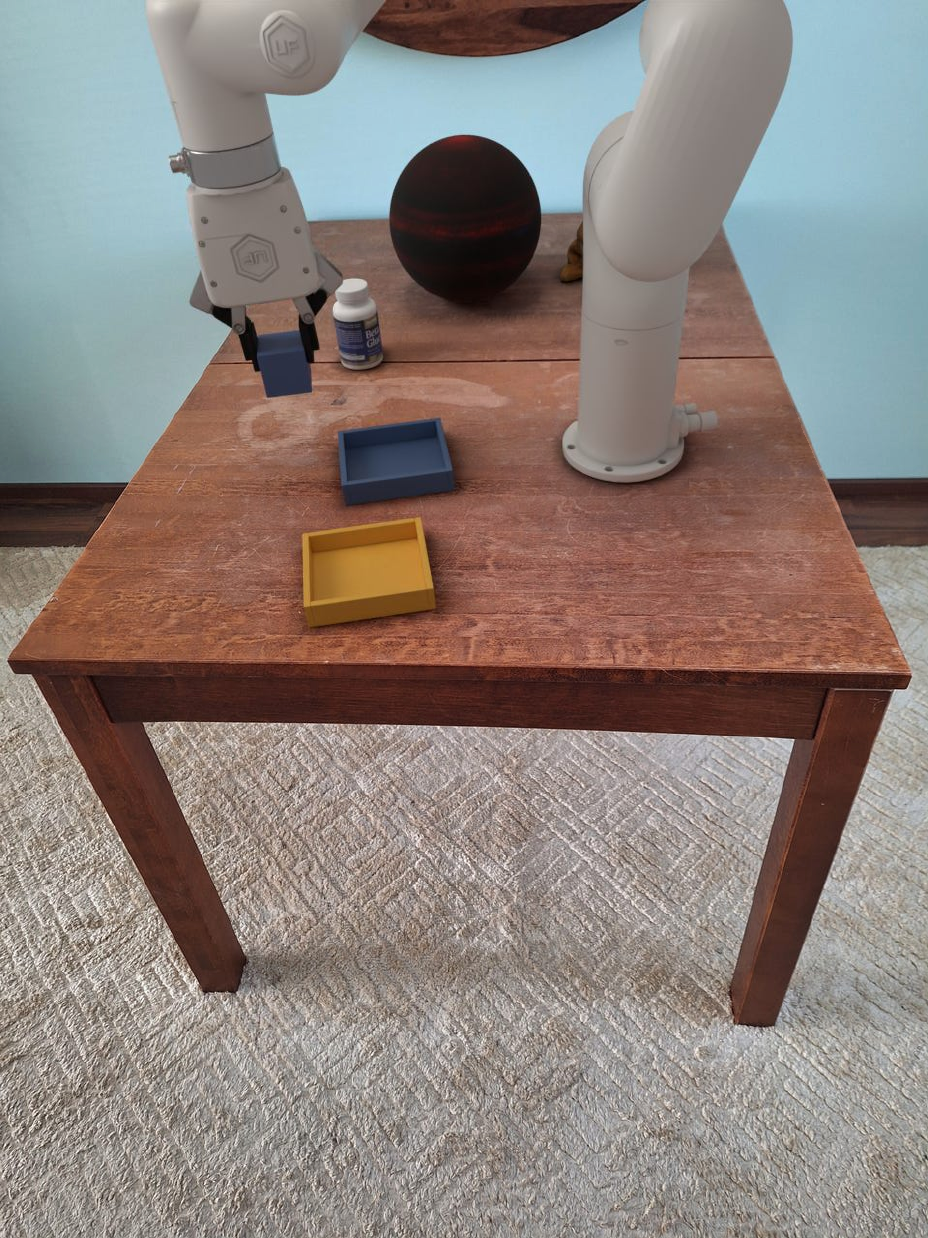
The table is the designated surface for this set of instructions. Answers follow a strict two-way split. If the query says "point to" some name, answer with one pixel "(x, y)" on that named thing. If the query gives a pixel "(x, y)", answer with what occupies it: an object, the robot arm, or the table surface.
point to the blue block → (283, 364)
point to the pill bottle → (357, 326)
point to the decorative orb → (465, 218)
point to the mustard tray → (366, 572)
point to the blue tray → (394, 461)
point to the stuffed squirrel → (574, 258)
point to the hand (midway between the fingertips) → (284, 359)
